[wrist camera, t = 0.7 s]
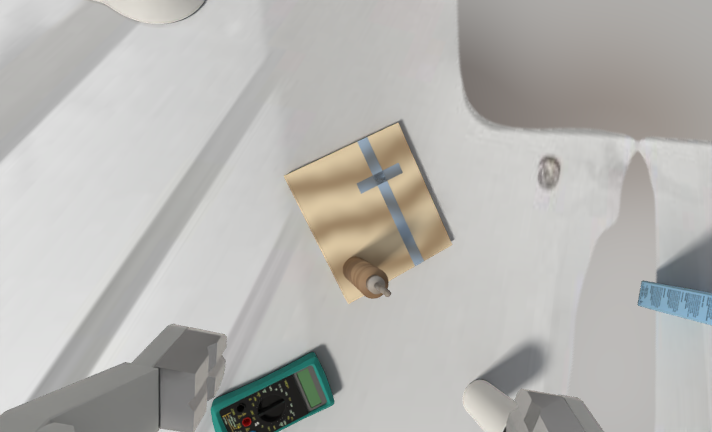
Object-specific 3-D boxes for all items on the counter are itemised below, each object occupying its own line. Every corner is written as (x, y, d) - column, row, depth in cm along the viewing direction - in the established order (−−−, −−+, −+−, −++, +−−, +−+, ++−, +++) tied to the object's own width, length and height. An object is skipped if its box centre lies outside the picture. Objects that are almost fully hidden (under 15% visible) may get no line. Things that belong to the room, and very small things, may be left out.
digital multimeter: (208, 400, 47) (204, 413, 44) (314, 348, 51) (317, 357, 48) (230, 448, 48) (228, 464, 45) (333, 394, 52) (337, 405, 49)
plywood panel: (283, 176, 48) (284, 175, 47) (395, 124, 52) (398, 122, 51) (346, 301, 51) (348, 304, 50) (448, 243, 55) (452, 244, 54)
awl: (338, 264, 49) (366, 287, 36) (360, 252, 50) (396, 270, 36) (349, 286, 50) (381, 318, 36) (371, 274, 51) (410, 300, 37)
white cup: (463, 376, 56) (504, 412, 47) (498, 377, 58) (545, 412, 48) (457, 417, 56) (496, 462, 47) (493, 417, 58) (538, 460, 48)
